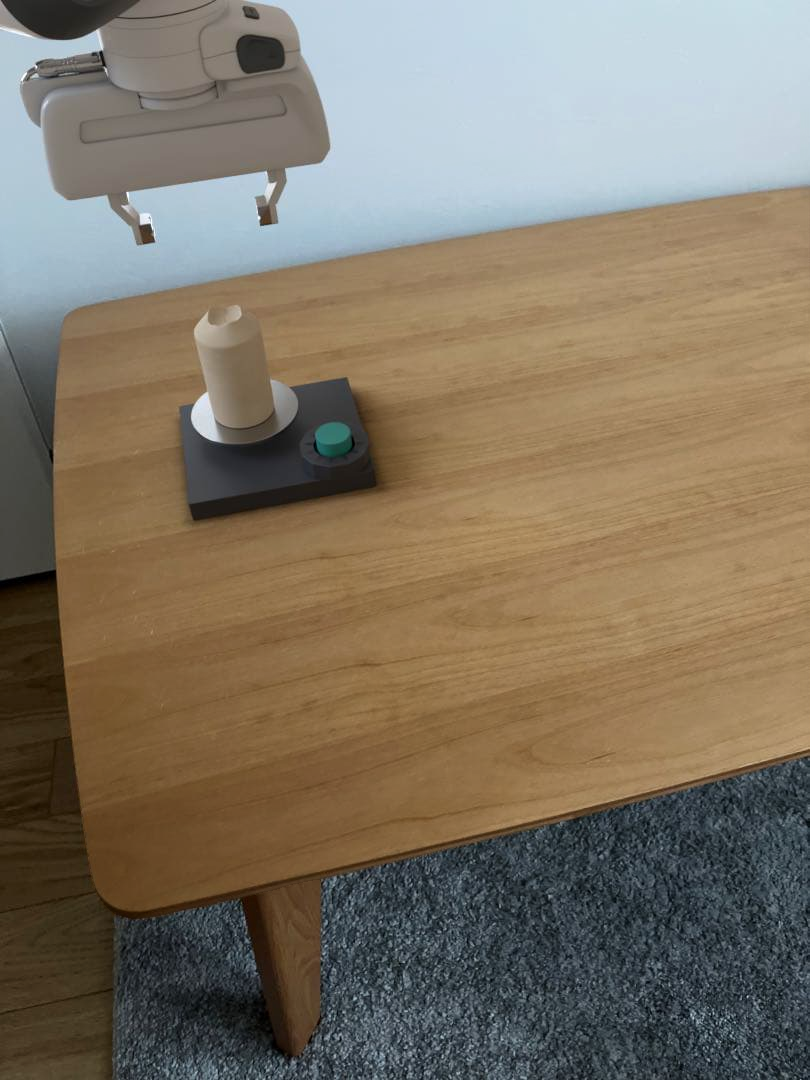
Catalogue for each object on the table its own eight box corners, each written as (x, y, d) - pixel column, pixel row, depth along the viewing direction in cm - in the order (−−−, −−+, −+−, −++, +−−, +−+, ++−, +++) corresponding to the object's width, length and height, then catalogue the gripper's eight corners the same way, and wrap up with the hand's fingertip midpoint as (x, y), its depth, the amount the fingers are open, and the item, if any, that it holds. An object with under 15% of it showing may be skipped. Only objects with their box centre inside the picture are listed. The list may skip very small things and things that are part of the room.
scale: (193, 524, 85) (184, 493, 83) (183, 421, 95) (175, 392, 93) (378, 489, 87) (375, 458, 85) (349, 392, 97) (345, 362, 95)
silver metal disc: (195, 455, 86) (194, 452, 86) (188, 391, 93) (187, 387, 93) (306, 436, 87) (305, 432, 87) (291, 373, 94) (290, 369, 94)
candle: (200, 412, 90) (176, 316, 83) (247, 383, 93) (227, 287, 85) (240, 437, 87) (219, 339, 80) (287, 407, 90) (270, 309, 83)
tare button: (320, 461, 85) (318, 446, 84) (314, 439, 88) (312, 425, 86) (354, 454, 86) (353, 440, 85) (348, 433, 88) (347, 419, 87)
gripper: (7, 80, 65) (70, 273, 74) (322, 38, 67) (342, 230, 77) (13, 47, 69) (72, 233, 79) (308, 8, 71) (329, 193, 81)
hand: (207, 231), depth 78 cm, fingers open, 8 cm apart
